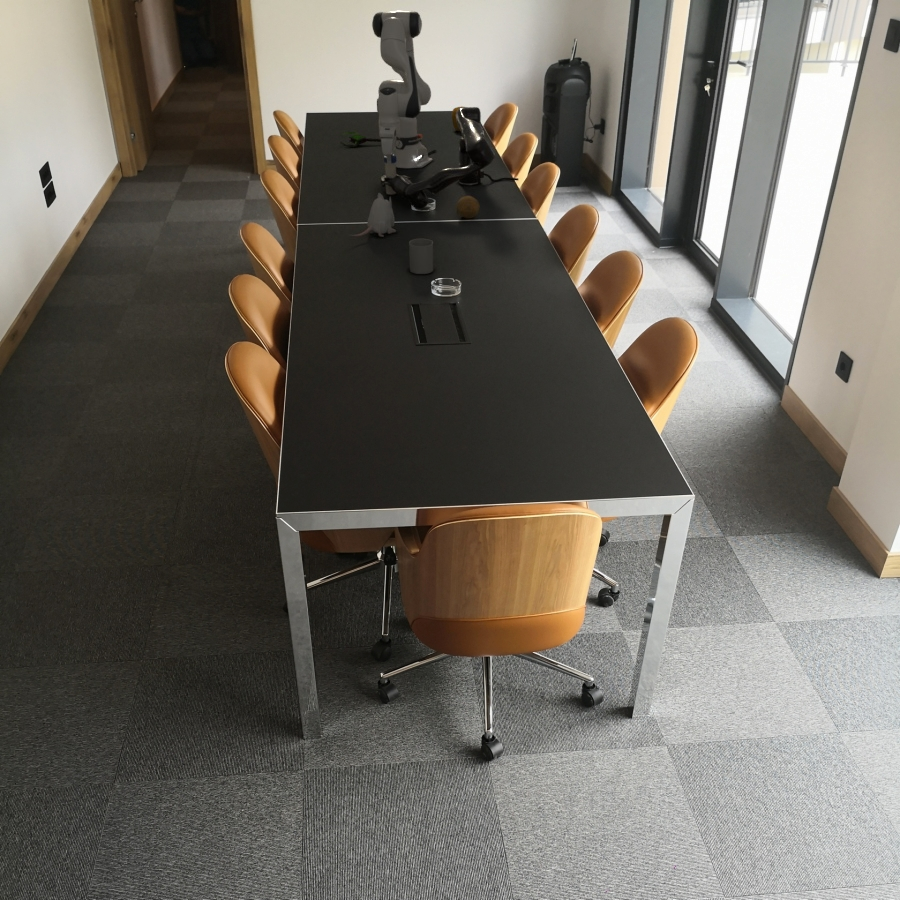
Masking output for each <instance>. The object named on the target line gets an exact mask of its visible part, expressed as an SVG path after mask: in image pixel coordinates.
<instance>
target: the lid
mask: <svg viewBox="0 0 900 900" xmlns="http://www.w3.org/2000/svg"><path fill="white" fill-rule="evenodd" d="M391 161H392V162H391V163H395V162H397V159H396V156H395V155H391ZM383 162H384V164H385V163H387V158H386V156H383Z"/></svg>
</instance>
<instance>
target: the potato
mask: <svg viewBox="0 0 900 900" xmlns="http://www.w3.org/2000/svg"><path fill="white" fill-rule="evenodd" d="M480 206H481V205H480V203H479V201H478V199H476V198H475V197H474V196H470V195H464V196H462V197H461V198H460V199H459V200H458V201H457V203H456V213H457V214H458V215H459V217H462V218H465V219H473V218H474V217H476V216H477V215H478V214H479V210H480V208H481V207H480Z"/></svg>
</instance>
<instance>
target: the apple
mask: <svg viewBox="0 0 900 900" xmlns="http://www.w3.org/2000/svg"><path fill="white" fill-rule="evenodd" d="M463 107H464V106H462V105H461V106H457V107H454V108H452V111H451V121H452V125H453V128H454V129H455V131H457V132H461V131H460V130H459V128H458V126H457V123H456V113H457V110H458V109H459V108H463Z"/></svg>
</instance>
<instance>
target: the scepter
mask: <svg viewBox="0 0 900 900" xmlns="http://www.w3.org/2000/svg"><path fill="white" fill-rule="evenodd" d="M349 134H350V136H348V137H349V142H350V143H352V144H347V143H345V142H341V141H340V143H339V144H341V145H343V146H345V147H348V148H356V147H357V146H359V145H362V144H365V143H367V142H371V143H373V142H374V143H375V142H376V143H381V138H375V137H374V138H371V137H370V138H369V137H365V136H364V135H361V134H359V133H358V132H357V131H346V132H344V133H342V134H340V136H344V135H349ZM351 134H352V135H351Z"/></svg>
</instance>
